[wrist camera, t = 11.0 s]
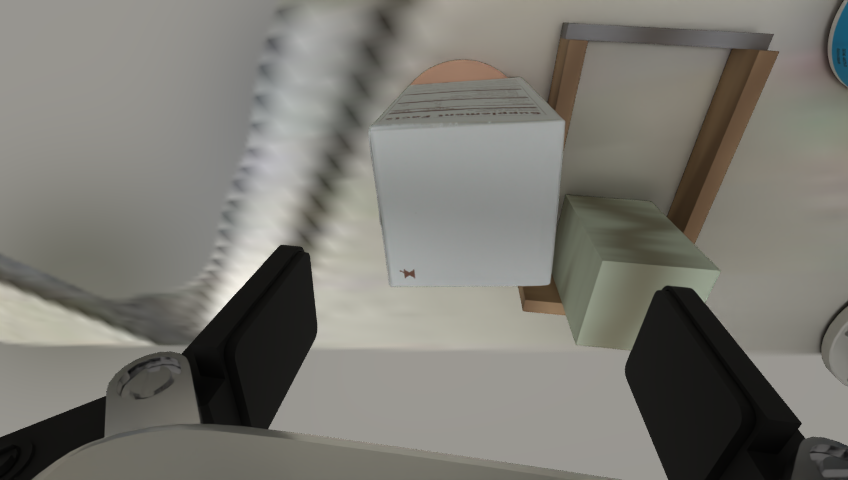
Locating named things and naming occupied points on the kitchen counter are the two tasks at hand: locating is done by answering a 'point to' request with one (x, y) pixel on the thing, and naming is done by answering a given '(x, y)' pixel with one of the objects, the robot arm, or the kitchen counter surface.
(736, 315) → the kitchen counter surface
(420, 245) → the supplement box
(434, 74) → the coaster
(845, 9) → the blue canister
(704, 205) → the rack
